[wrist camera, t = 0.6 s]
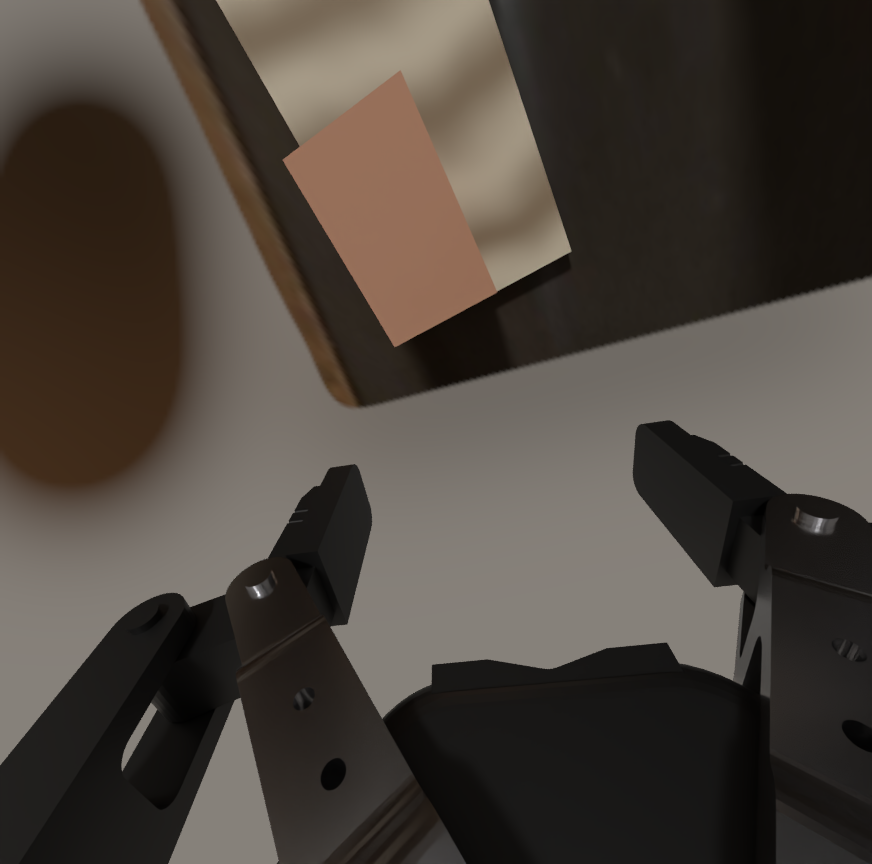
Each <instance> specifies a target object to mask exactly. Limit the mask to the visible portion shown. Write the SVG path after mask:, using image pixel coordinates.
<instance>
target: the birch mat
mask: <svg viewBox="0 0 872 864" xmlns="http://www.w3.org/2000/svg"><path fill="white" fill-rule="evenodd" d="M216 1H217V3H218V4H219V6H220V8H221V10H222V11H223V13H224V15H225V17H226V18H227V20H228V22H229V24H230V25H231V27H232V29H233V31H234V32H235V34H236V36H237V38H238V39H239V41H240V43H241V44H242V46H243V48H244V50H245V51H246V53H247V55H248V57H249V58H250V60H251V62H252V64H253V65H254V67H255V69H256V71H257V72H258V74H259V76H260V78H261V79H262V81H263V83H264V85H265V86H266V88H267V90H268V92H269V93H270V95H271V97H272V99H273V100H274V102H275V104H276V106H277V107H278V109H279V111H280V113H281V114H282V116H283V118H284V120H285V121H286V123H287V125H288V127H289V128H290V130H291V132H292V134H293V135H294V137H295V139H296V140H297V142H298V144H299V146H301V145H303V144H304V143H305V142H307V141H308V140H309V139H311V138H312V137H313V136H315V135H316V134H317V133H319V132H320V131H321V130H322V129H324V128H325V127H326V126H328V125H329V124H330V123H332V122H333V121H334V120H336V119H337V118H338V117H340V116H341V115H342V114H343V113H345V112H346V111H347V110H349V109H350V108H351V107H353V106H354V105H355V104H357V103H358V102H359V101H360V100H362V99H363V98H364V97H366V96H367V95H368V94H370V93H371V92H372V91H374V90H375V89H376V88H378V87H379V86H380V85H381V84H383V83H384V82H385V81H387V80H388V79H389V78H391V77H392V76H393V75H395V74H396V73H397V72H398V71H400V70H401V72H402V75H403V77H404V79H405V81H406V84H407V86H408V88H409V91H410V93H411V95H412V97H413V100H414V102H415V104H416V107H417V109H418V111H419V114H420V116H421V118H422V120H423V123H424V125H425V127H426V130H427V132H428V134H429V136H430V139H431V141H432V143H433V146H434V148H435V150H436V153H437V155H438V157H439V159H440V162H441V164H442V166H443V169H444V171H445V173H446V175H447V178H448V180H449V182H450V185H451V187H452V189H453V192H454V194H455V196H456V198H457V201H458V203H459V205H460V208H461V210H462V212H463V214H464V217H465V219H466V221H467V224H468V226H469V228H470V231H471V233H472V235H473V237H474V240H475V242H476V244H477V247H478V249H479V251H480V253H481V256H482V258H483V260H484V263H485V265H486V267H487V270H488V272H489V274H490V276H491V279H492V281H493V283H494V286H495V288H496V290H497V291H499V290H501V289H502V288H504V287H506V286H508V285H510V284H512V283H514V282H515V281H517V280H519V279H521V278H523V277H525V276H527V275H529V274H530V273H532V272H534V271H536V270H538V269H540V268H542V267H543V266H545V265H547V264H549V263H551V262H553V261H555V260H556V259H558V258H560V257H562V256H564V255H566V254H568V253H570V252H571V248H570V245H569V242H568V239H567V236H566V233H565V230H564V227H563V224H562V221H561V218H560V215H559V212H558V209H557V206H556V203H555V200H554V197H553V194H552V191H551V188H550V185H549V182H548V179H547V176H546V173H545V170H544V167H543V164H542V161H541V158H540V155H539V152H538V149H537V145H536V142H535V139H534V136H533V133H532V130H531V127H530V124H529V121H528V118H527V115H526V112H525V109H524V106H523V103H522V100H521V97H520V94H519V91H518V88H517V85H516V82H515V79H514V76H513V73H512V70H511V67H510V64H509V61H508V58H507V55H506V52H505V49H504V46H503V43H502V40H501V37H500V34H499V31H498V27H497V24H496V21H495V18H494V15H493V12H492V9H491V6H490V3H489V0H216Z"/></svg>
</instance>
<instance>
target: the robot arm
mask: <svg viewBox="0 0 872 864" xmlns="http://www.w3.org/2000/svg"><path fill="white" fill-rule="evenodd" d="M633 480H634V484H635V487H636V489H637V491H638V493H639V495H640V496H641V497H642V498H643V500H644V501H645V502H646V503H647V505H648V506H649V507H650V508H651V510H652V511H653V512H654V513H655V515H656V516H657V517H658V518H659V519H660V521H661V522H662V523H663V524H664V526H665V527H666V528H667V529H668V530H669V532H670V533H671V534H672V536H673V537H674V538H675V539H676V540H677V542H678V543H679V544H680V545H681V547H682V548H683V549H684V550H685V551H686V553H687V554H688V555H689V556H690V558H691V559H692V560H693V561H694V563H695V564H696V565H697V566H698V568H699V569H700V570H701V571H702V573H703V574H704V575H705V576H706V577H707V579H708V580H709V581H710V582H711V584H712V585H713V586H714V587H720V586H730V585H739V587H740V588H741V589H742V590H743V591H744V592H743V595H742V599H741V603H740V615H739V626H738V638H737V650H736V661H735V671H734V678H733V681H732V680H730V679H728V678H725V677H723V676H721V675H718V674H715V673H713V672H710V671H707V670H704V669H701V668H697V667H693V666H689V665H685V664H679V663H678V661H677V659H676V658H675V656H674V654H673V652H672V651H671V649H670V647H669V645H668V644H667V643H657V644H647V645H637V646H626V647H616V648H606V649H604V650H601V651H599V652H596V653H593V654H591V655H588V656H586V657H583V658H580V659H578V660H575V661H573V662H570V663H568V664H565V665H562V666H560V667H557V668H554V669H542V668H536V667H530V666H523V665H517V664H511V663H505V662H499V661H493V660H478V661H467V662H458V663H446V664H436V665H432V685H430V686H427V687H425V688H423V689H421V690H419V691H417V692H415V693H413V694H411V695H410V696H408V697H407V698H406V699H404V700H403V701H401V702H400V703H399V704H397V705H396V706H395V707H394V708H393V709H392V710H391V711H390V712H388V713H387V714H386V715H385V717H384V718H383V719H382V718H381V716H380V715H379V713H378V711H377V709H376V707H375V706H374V704H373V702H372V700H371V698H370V697H369V696H368V693H367V692H366V690H365V688H364V686H363V684H362V683H361V681H360V679H359V677H358V675H357V674H356V672H355V670H354V668H353V666H352V665H351V663H350V661H349V659H348V658H347V656H346V654H345V653H344V650H343V649H342V647H341V645H340V644H339V642H338V640H337V638H336V636H335V634H334V633H333V631H332V629H331V628H330V627H331V626H336V625H345V624H347V623H348V619H349V615H350V611H351V607H352V603H353V599H354V595H355V591H356V587H357V583H358V579H359V575H360V571H361V567H362V563H363V559H364V555H365V551H366V546H367V543H368V539H369V535H370V531H371V526H372V514H371V508H370V504H369V501H368V498H367V494H366V491H365V488H364V484H363V481H362V478H361V475H360V471H359V469H358V467H357V466H356V465H355V464H354V465H346V466H339V467H332V468H330V469H329V470H328V472H327V474H326V476H325V478H324V480H323V482H322V483H321V485H320V486H316V487H313V488H312V489H311V490H310V491H309V492H308V493H307V494H306V495H305V496H303V497H302V498H301V500H300V502H299V503H298V505H297V507H296V509H295V513H293V514H292V516H291V518H290V520H289V523H288V524H287V525H286V527H285V529H284V530H283V532H282V534H281V536H280V538H279V539H278V541H277V543H276V545H275V546H274V548H273V550H272V552H271V554H270V555H269V557H268V559H264V560H261V561H259V562H257V563H255V564H253V565H251V566H250V567H248V568H246V569H245V570H244V571H242V572H241V573H240V574H239V575H238V576H237V577H236V578H235V579H234V580H233V581H232V582H231V584H230V585H229V587H228V589H227V592H226V594H225V595H223V596H220V597H217V598H214V599H212V600H209V601H206V602H203V603H201V604H198V605H196V606H192V607H189V605H188V604H187V602H186V601H185V599H184V598H183V596H181V595H180V594H177V593H166V594H162V595H159V596H156V597H153V598H151V599H149V600H147V601H145V602H143V603H141V604H140V605H138V606H137V607H135V608H133V609H132V610H131V611H129V612H128V613H127V614H125V615H124V616H123V617H122V618H121V619H120V620H119V621H118V622H117V623H116V624H115V625H114V626H113V627H112V628H111V630H110V631H109V632H108V633H107V635H106V636H105V637H104V638H103V640H102V641H101V642H100V643H99V644H98V646H97V647H96V648H95V649H94V651H93V652H92V653H91V654H90V656H89V657H88V658H87V659H86V660H85V662H84V663H83V664H82V665H81V667H80V668H79V669H78V670H77V672H76V673H75V674H74V675H73V677H72V678H71V679H70V680H69V682H68V683H67V684H66V685H65V686H64V688H63V689H62V690H61V691H60V693H59V694H58V695H57V696H56V697H55V699H54V700H53V701H52V702H51V704H50V705H49V706H48V707H47V709H46V710H45V711H44V712H43V714H42V715H41V716H40V717H39V718H38V720H37V721H36V722H35V723H34V725H33V726H32V727H31V728H30V730H29V731H28V732H27V733H26V734H25V736H24V737H23V738H22V739H21V741H20V742H19V743H18V744H17V746H16V747H15V748H14V749H13V750H12V752H11V753H10V754H9V755H8V757H7V758H6V759H5V760H4V762H3V763H2V764H1V765H0V864H168V863H169V860H170V858H171V855H172V853H173V851H174V848H175V845H176V843H177V840H178V838H179V836H180V833H181V831H182V828H183V826H184V824H185V821H186V818H187V816H188V814H189V811H190V809H191V806H192V804H193V801H194V799H195V796H196V794H197V791H198V789H199V787H200V784H201V782H202V779H203V777H204V774H205V772H206V769H207V767H208V764H209V762H210V759H211V757H212V754H213V752H214V750H215V747H216V745H217V742H218V740H219V737H220V735H221V732H222V730H223V727H224V725H225V722H226V720H227V718H228V715H229V713H230V710H231V707H232V705H233V703H234V700H236V699H238V698H241V701H242V705H243V710H244V714H245V718H246V723H247V727H248V731H249V735H250V739H251V744H252V748H253V753H254V757H255V761H256V765H257V769H258V774H259V778H260V782H261V787H262V791H263V795H264V800H265V804H266V808H267V812H268V817H269V821H270V825H271V830H272V834H273V838H274V842H275V847H276V851H277V855H278V860H279V861H278V863H277V864H872V523H868V522H867V521H866V519H864V518H863V517H862V516H861V515H860V514H858V513H857V512H855V511H854V510H852V509H850V508H848V507H847V506H844V505H842V504H840V503H837V502H834V501H832V500H828V499H825V498H821V497H817V496H812V495H805V494H786V493H785V492H784V491H782V490H781V489H780V488H778V487H777V486H775V485H774V484H772V483H771V482H770V481H768V480H767V479H765V478H764V477H762V476H761V475H760V474H758V473H757V472H756V471H754V470H753V469H751V468H750V467H748V466H747V465H743V463H742V462H741V461H740V460H738V459H737V458H736V457H734V456H730V453H729V452H727V451H726V450H724V449H723V448H722V447H720V446H719V445H717V444H716V443H714V442H712V441H709V440H706V439H704V438H701V437H698V436H696V435H690V434H689V433H687V432H686V431H684V430H683V429H682V428H680V427H679V426H678V425H676V424H675V423H674V422H672V421H660V422H654V423H646V424H641V425H639V426H638V427H637V430H636V436H635V450H634V465H633ZM150 703H152V704H153V705H154V706H155V707H156V708H157V711H156V713H155V715H154V717H153V718H152V720H151V722H150V724H149V726H148V727H147V729H146V731H145V732H144V734H143V736H142V738H141V740H140V741H139V743H138V745H137V747H136V749H135V750H134V752H133V754H132V756H131V757H130V759H129V761H128V763H127V764H126V766H125V768H124V770H123V771H122V770H121V763H122V757H123V752H124V749H125V747H126V745H127V742H128V741H129V739H130V737H131V735H132V734H133V732H134V730H135V728H136V727H137V725H138V723H139V722H140V720H141V718H142V717H143V715H144V713H145V711H146V710H147V708H148V706H149V705H150Z"/></svg>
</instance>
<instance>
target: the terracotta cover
mask: <svg viewBox="0 0 872 864" xmlns="http://www.w3.org/2000/svg"><path fill="white" fill-rule="evenodd" d="M283 161H284V163H285V165H286V166H287V168H288V170H289V171H290V173H291V175H292V176H293V178H294V180H295V181H296V183H297V185H298V186H299V188H300V190H301V191H302V193H303V195H304V196H305V198H306V200H307V201H308V203H309V205H310V206H311V208H312V210H313V211H314V213H315V215H316V216H317V218H318V220H319V222H320V223H321V225H322V227H323V228H324V230H325V232H326V233H327V235H328V237H329V238H330V240H331V242H332V243H333V245H334V247H335V248H336V250H337V252H338V253H339V255H340V257H341V258H342V260H343V262H344V263H345V265H346V267H347V268H348V270H349V272H350V273H351V275H352V277H353V278H354V280H355V282H356V283H357V285H358V287H359V288H360V290H361V292H362V293H363V295H364V297H365V298H366V300H367V302H368V303H369V305H370V307H371V308H372V310H373V312H374V313H375V315H376V317H377V318H378V320H379V322H380V323H381V325H382V327H383V328H384V330H385V332H386V333H387V335H388V337H389V338H390V340H391V342H392V343H393V345H394V347H396V346H398V345H400V344H402V343H404V342H406V341H408V340H409V339H411V338H413V337H415V336H417V335H419V334H421V333H422V332H424V331H426V330H428V329H430V328H432V327H434V326H436V325H437V324H439V323H441V322H443V321H445V320H447V319H449V318H450V317H452V316H454V315H456V314H458V313H460V312H462V311H464V310H465V309H467V308H469V307H471V306H473V305H475V304H477V303H478V302H480V301H482V300H484V299H486V298H488V297H490V296H492V295H493V294H495V293H497V290H496V288H495V286H494V283H493V281H492V279H491V276H490V274H489V272H488V270H487V267H486V265H485V263H484V260H483V258H482V256H481V253H480V251H479V249H478V247H477V244H476V242H475V240H474V237H473V235H472V233H471V231H470V228H469V226H468V224H467V221H466V219H465V217H464V214H463V212H462V210H461V208H460V205H459V203H458V201H457V198H456V196H455V194H454V192H453V189H452V187H451V185H450V182H449V180H448V178H447V175H446V173H445V171H444V169H443V166H442V164H441V162H440V159H439V157H438V155H437V153H436V150H435V148H434V146H433V143H432V141H431V139H430V136H429V134H428V132H427V130H426V127H425V125H424V123H423V120H422V118H421V116H420V114H419V111H418V109H417V107H416V104H415V102H414V100H413V97H412V95H411V93H410V91H409V88H408V86H407V84H406V81H405V79H404V77H403V75H402V72H401V70H400V71H398V72H397V73H396V74H395V75H393V76H392V77H391V78H389V79H388V80H387V81H385V82H384V83H383V84H381V85H380V86H379V87H378V88H376V89H375V90H374V91H372V92H371V93H370V94H368V95H367V96H366V97H364V98H363V99H362V100H360V101H359V102H358V103H357V104H355V105H354V106H353V107H351V108H350V109H349V110H347V111H346V112H345V113H343V114H342V115H341V116H340V117H338V118H337V119H336V120H334V121H333V122H332V123H330V124H329V125H328V126H326V127H325V128H324V129H322V130H321V131H320V132H319V133H317V134H316V135H315V136H313V137H312V138H311V139H309V140H308V141H307V142H305V143H304V144H303V145H301V146H300V147H299V148H298V149H296V150H295V151H294V152H292V153H291V154H290V155H288V156H287V157H286V158H284V159H283Z"/></svg>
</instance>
